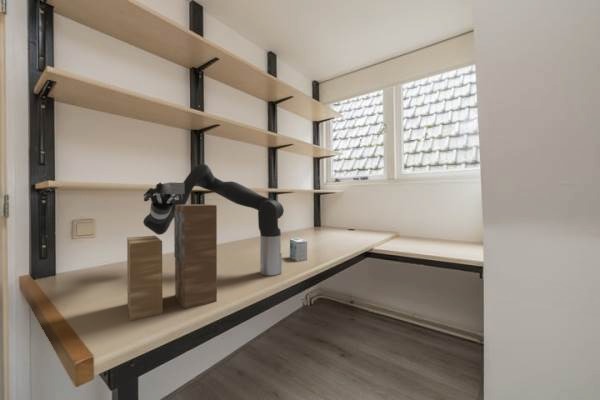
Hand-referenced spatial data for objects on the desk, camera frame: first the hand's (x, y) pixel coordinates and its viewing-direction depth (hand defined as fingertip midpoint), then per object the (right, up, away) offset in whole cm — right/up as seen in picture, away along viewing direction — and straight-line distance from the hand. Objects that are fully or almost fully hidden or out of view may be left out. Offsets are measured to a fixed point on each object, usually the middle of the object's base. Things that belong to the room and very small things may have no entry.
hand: (167, 185), depth 93 cm
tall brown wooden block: (+12, -39, -4) cm, 41 cm away
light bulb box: (+47, -39, +53) cm, 81 cm away
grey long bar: (+4, -3, -5) cm, 7 cm away
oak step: (-1, -39, -13) cm, 41 cm away
